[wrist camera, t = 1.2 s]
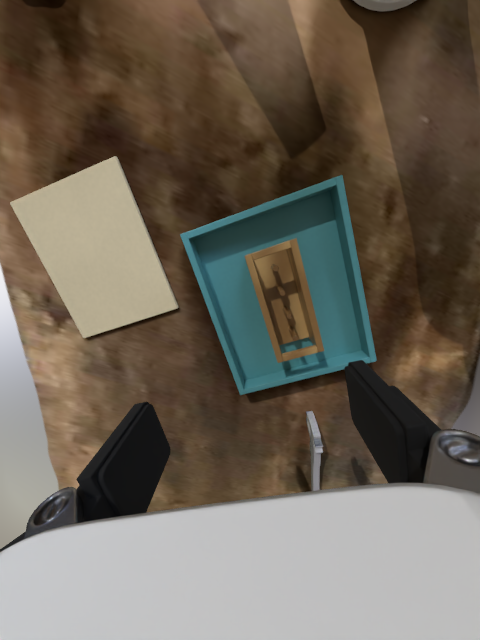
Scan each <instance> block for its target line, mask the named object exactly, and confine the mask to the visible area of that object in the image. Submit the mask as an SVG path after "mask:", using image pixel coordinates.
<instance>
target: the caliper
mask: <svg viewBox="0 0 480 640" xmlns="http://www.w3.org/2000/svg"><path fill="white" fill-rule="evenodd" d="M306 415H307V418H306V421H307V426H308V431H309V435H310V452H311V489H312V491H317V490H319V472H320V460H321V453H323V450H322V447H323V445H322V442H321V436H320V432H319V429H318V425H317V422H316V419H315V417H314V414H313V411H309V412H306Z"/></svg>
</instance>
